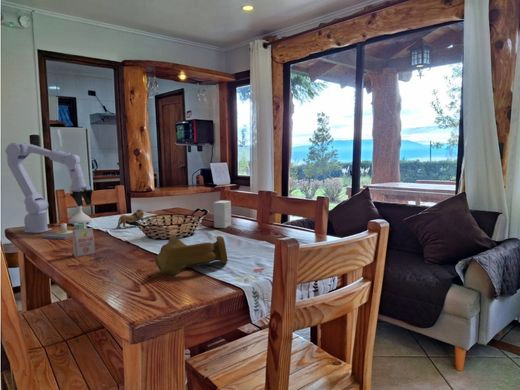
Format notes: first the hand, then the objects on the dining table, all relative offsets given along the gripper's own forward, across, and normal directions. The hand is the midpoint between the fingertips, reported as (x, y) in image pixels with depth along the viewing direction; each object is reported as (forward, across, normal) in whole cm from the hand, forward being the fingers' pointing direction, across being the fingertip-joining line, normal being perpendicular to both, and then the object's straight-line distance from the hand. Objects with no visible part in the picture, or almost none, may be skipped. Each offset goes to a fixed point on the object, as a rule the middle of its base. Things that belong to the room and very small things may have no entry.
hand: (84, 205), depth 179 cm
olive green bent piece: (+24, -83, +16) cm, 88 cm away
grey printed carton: (+16, -37, +26) cm, 48 cm away
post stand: (+11, +1, +13) cm, 17 cm away
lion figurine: (+17, -10, -15) cm, 25 cm away
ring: (+12, +6, +2) cm, 13 cm away
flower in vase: (+11, +19, -6) cm, 23 cm away
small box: (+26, -49, -41) cm, 69 cm away
